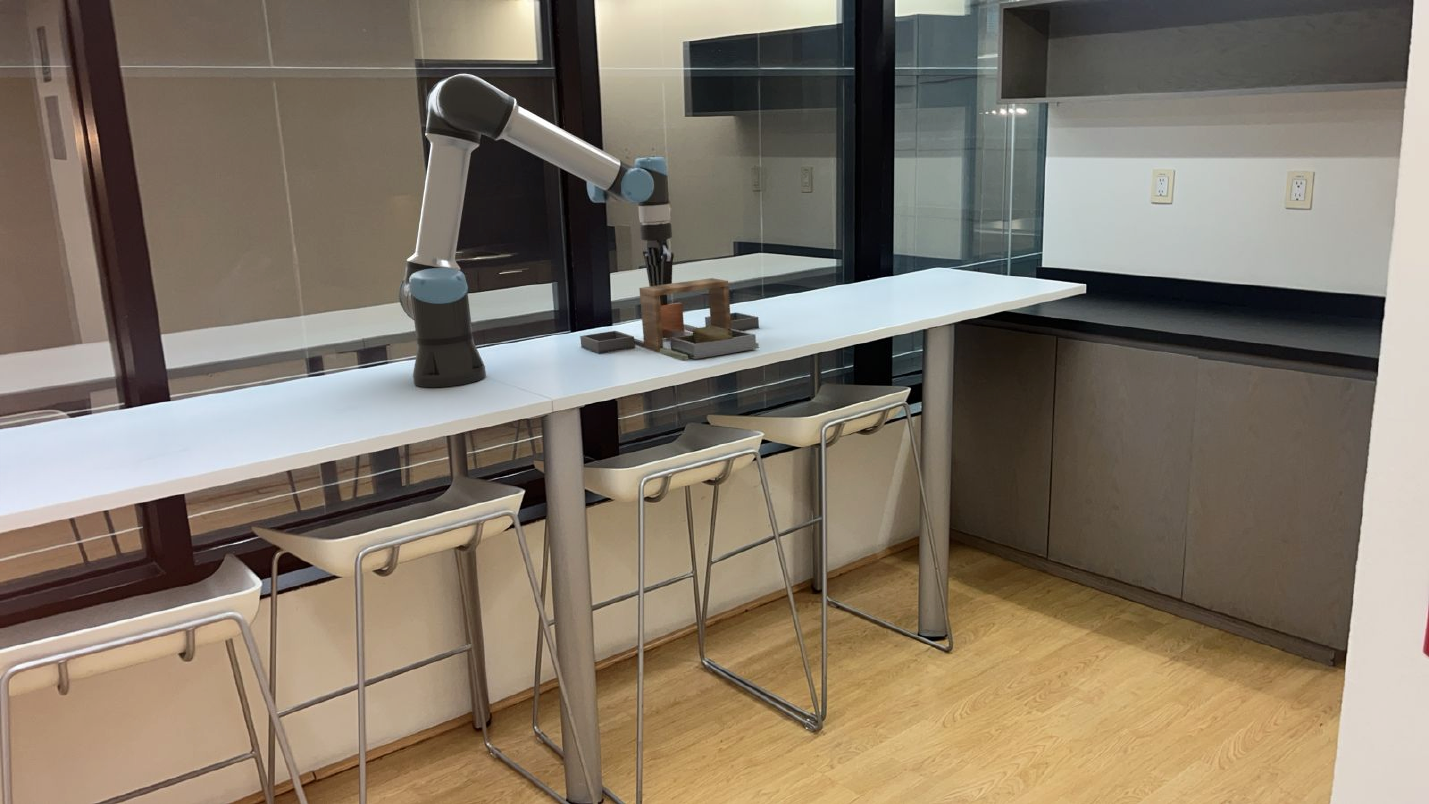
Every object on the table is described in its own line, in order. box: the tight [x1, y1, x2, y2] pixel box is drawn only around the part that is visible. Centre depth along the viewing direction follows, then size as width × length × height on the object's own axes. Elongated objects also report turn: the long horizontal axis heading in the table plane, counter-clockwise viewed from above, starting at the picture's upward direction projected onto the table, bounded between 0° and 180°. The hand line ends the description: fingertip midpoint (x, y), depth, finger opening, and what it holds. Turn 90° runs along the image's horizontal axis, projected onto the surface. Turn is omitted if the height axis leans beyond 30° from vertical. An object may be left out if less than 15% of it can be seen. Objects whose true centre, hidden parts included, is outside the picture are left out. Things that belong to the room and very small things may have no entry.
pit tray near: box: [579, 330, 636, 355], centre depth 252 cm, size 9×11×3 cm
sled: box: [660, 302, 757, 360], centre depth 246 cm, size 16×30×8 cm, turn 28°
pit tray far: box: [704, 311, 760, 332], centre depth 267 cm, size 9×11×3 cm
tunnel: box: [634, 277, 759, 361], centre depth 250 cm, size 19×37×14 cm, turn 28°
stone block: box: [692, 325, 733, 344], centre depth 239 cm, size 6×12×5 cm, turn 25°
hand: (663, 319), depth 260 cm, fingers closed
